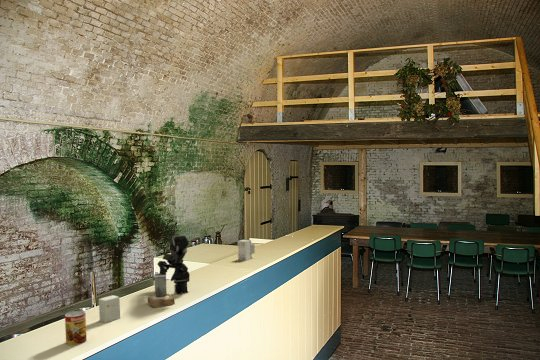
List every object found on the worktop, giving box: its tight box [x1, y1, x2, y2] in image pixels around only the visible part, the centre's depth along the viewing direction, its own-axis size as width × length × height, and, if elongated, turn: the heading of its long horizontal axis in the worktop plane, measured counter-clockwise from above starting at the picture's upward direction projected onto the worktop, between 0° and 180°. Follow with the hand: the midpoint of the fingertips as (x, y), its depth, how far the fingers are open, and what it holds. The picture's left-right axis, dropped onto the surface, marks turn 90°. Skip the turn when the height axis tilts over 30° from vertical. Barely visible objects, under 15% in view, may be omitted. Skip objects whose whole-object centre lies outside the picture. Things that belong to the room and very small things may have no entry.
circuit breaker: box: [237, 239, 256, 262], centre depth 355 cm, size 8×14×15 cm, turn 148°
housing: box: [153, 272, 168, 300], centre depth 237 cm, size 7×7×12 cm
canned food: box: [64, 310, 88, 347], centre depth 185 cm, size 8×8×12 cm
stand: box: [147, 293, 176, 309], centre depth 237 cm, size 12×12×3 cm
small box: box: [98, 294, 121, 323], centre depth 213 cm, size 8×6×10 cm
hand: (165, 279), depth 241 cm, fingers open, 9 cm apart
